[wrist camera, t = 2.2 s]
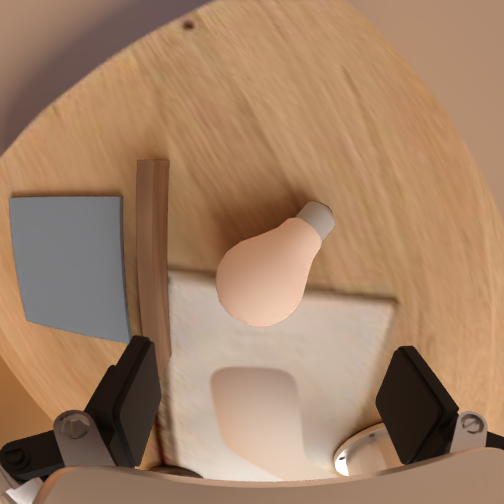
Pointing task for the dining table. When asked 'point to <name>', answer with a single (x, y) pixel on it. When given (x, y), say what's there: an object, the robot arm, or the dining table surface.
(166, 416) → the dining table surface
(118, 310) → the mat
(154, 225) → the low wall
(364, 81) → the dining table surface
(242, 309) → the light bulb
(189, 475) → the candlestick
